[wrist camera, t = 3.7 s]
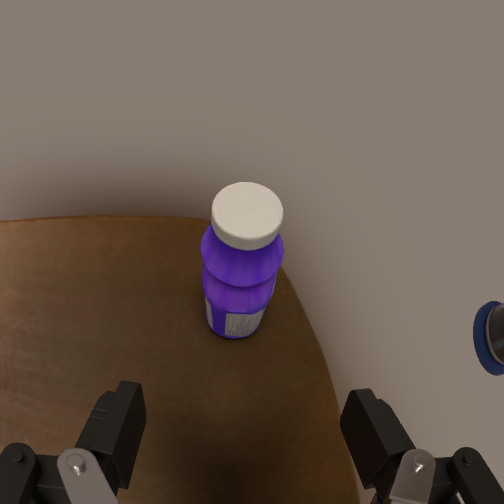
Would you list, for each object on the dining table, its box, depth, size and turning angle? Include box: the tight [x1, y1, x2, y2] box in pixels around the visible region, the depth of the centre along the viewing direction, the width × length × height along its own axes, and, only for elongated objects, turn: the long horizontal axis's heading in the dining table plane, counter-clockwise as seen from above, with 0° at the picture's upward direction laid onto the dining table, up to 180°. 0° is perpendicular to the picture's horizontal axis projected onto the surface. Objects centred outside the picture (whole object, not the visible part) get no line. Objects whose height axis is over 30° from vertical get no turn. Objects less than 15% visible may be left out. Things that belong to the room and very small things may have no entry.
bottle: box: [200, 182, 284, 338], centre depth 24 cm, size 7×6×17 cm
